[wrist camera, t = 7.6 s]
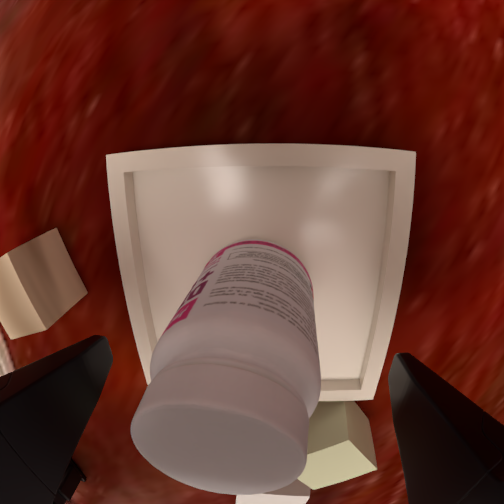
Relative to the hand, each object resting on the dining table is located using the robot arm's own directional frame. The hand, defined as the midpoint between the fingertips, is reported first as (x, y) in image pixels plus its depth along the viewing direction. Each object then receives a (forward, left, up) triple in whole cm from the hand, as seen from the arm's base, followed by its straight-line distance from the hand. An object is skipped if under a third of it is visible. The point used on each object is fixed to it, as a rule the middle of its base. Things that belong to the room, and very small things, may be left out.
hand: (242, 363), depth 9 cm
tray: (0, 0, -6) cm, 6 cm away
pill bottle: (0, 0, -5) cm, 5 cm away
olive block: (+4, -9, -6) cm, 11 cm away
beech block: (-12, 0, -6) cm, 13 cm away
